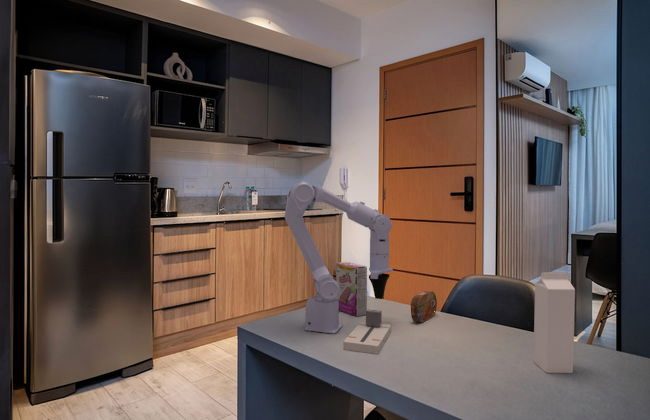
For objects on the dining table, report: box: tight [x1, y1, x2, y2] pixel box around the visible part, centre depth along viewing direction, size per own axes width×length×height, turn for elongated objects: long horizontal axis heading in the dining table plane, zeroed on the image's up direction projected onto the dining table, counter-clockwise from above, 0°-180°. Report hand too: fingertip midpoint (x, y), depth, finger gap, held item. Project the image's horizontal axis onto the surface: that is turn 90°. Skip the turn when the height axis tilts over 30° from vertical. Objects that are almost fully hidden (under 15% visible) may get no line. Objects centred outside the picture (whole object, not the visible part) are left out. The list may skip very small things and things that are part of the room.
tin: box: [410, 290, 438, 324], centre depth 131 cm, size 15×3×8 cm, turn 142°
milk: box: [533, 271, 576, 374], centre depth 94 cm, size 6×6×22 cm
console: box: [342, 321, 392, 355], centre depth 111 cm, size 9×18×2 cm, turn 160°
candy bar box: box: [335, 261, 368, 318], centre depth 138 cm, size 11×5×16 cm, turn 37°
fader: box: [365, 309, 383, 327], centre depth 117 cm, size 4×2×4 cm, turn 70°
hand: (379, 298), depth 123 cm, fingers closed
